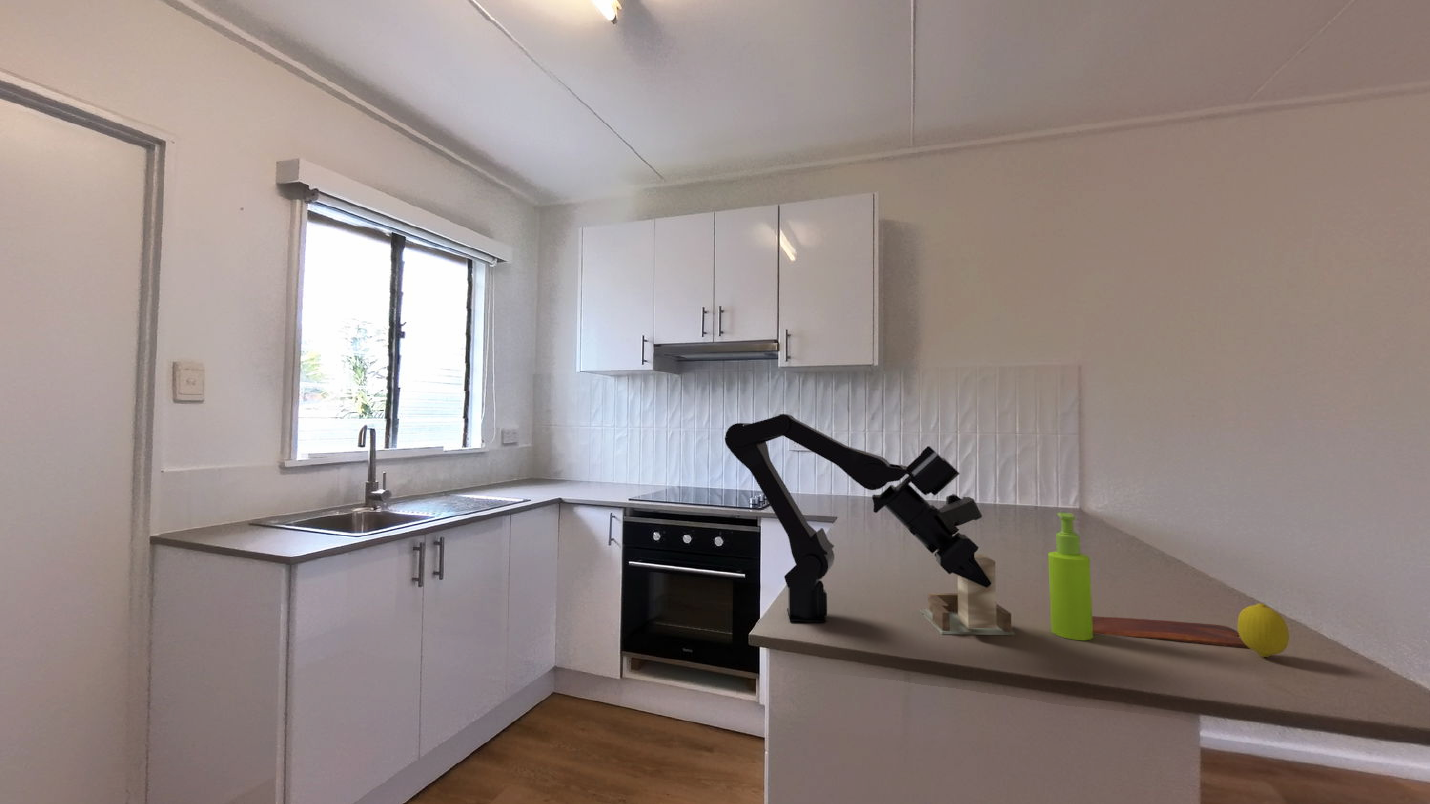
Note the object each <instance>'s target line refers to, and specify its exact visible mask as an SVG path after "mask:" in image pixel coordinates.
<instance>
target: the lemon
mask: <svg viewBox="0 0 1430 804" xmlns="http://www.w3.org/2000/svg"><path fill="white" fill-rule="evenodd" d="M1237 632H1238V633H1239V635H1240V638H1241V639H1242V641H1243V642H1244V643H1245V644H1246V645H1247V646H1248V647H1249V648H1248V649H1251V650H1252V651H1254V652H1256V653H1257V655H1259V656H1260V657H1261V656H1262V657H1261V658H1264V657H1267V658H1269V657H1270V656H1273V655H1278V654H1281V653H1282V652H1284V651H1285V650H1286V649H1287V647H1288V645H1289V641H1290V630H1289V628H1288V625H1287V622H1286V621H1285V619H1284V617H1282V615H1281V614H1279V612H1278V611H1276V610H1275V609H1273V608H1271V607H1268V606H1267V605H1266V604H1265V603H1259V602H1258V603H1257V604H1254V605H1249V606H1247V607H1245V608H1244V609H1242V610H1241V611H1240V612H1239V615H1238V619H1237Z"/></svg>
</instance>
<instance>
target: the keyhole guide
mask: <svg viewBox="0 0 1430 804" xmlns="http://www.w3.org/2000/svg"><path fill="white" fill-rule="evenodd" d="M919 612H920V613H921V614H922V613H923V614H924V615H923V614H922V615H923V616H924V617H925V618H926V619H927V620H928V622H930V623H931V625H933V627H935V628H936V630H937V631H938V632H939V633H940V634H941V635H971V636H972V635H976V636H977V635H980V636H981V635H983V636H984V635H985V636H1016V633H1015V632H1014V630H1012V613H1011V612H1010V611H1009V610H1007V609H1005V608H1004V607H1002V606H1001V605H999V604H998V603H996V624H997V629H983V628H968V627H967V626H966V625H965V624H964V623H962V622H961V621H960V620H959V619H958V592H957V593H955V592H954V593H953V592H952V593H951V592H950V593H949V592H946V593H945V592H943V593H941V592H928V593H927V608H920V609H919Z"/></svg>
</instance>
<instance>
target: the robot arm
mask: <svg viewBox="0 0 1430 804" xmlns="http://www.w3.org/2000/svg"><path fill="white" fill-rule="evenodd" d="M780 437H785V438H786V439H789V440H791V441H792V442H793V443H796V444H798V445H800V446H801V447H803V448H805V449H807V450H808V451H810V452H813V453H814V454H817V455H818V456H820V457H822V458H823V459H825V460H827V461H829V462H831V463H833V464H835V466H837V467H839V468H840V469H841V470H842V471H843V472H845V474H846V475H847V476H848V477H850V478H851V479H852V480H853V481H855V482H856V483H857V484H859V485H860V486H861V487H863V488H864V489H866V490H868V491H877V490H880V489H882V488H883V487H885V486H886V485H887V484H888V483H892V482H898V481H900V480H902V478H904V477H905V476H906V475H908V476H907V477H906V478H905V479H903V480H902V481H901V482H900V483H899V484H898V485H896V486H895V485H893V484H890V485H889V486H888V487H887V488H886V489H885V490H883V491H882V492H881V493H880V494H872V497H871V498H872V499H871V500H872V502H873V510H872V511H873V513H874V514H875V513H876V514H877V513H879V512H880V511H881V510H882V509H883V508H886V509H887V510H888V511H889V512H890V513H891V514H892V515H893V516H894V517H895V519H896V520H898V521H899V523H901V524H902V525H903V526H904V527H905V528H906V529H907V530H908V531H909V533H910V534H911V535H912V536H914V537H915V538H916V539H917V540H918V541H919V542H920V543H921V544H922V545H923V547H925V548H926V549H927V550H928V551H929V552H930V553H931V555H932V554H934V557H935V560H936V562H937V564H938V565H939V566H940V567H941V568H942V569H943V570H945V572H947V574H948V575H952V574H954V575H956V576H957V575H959V576H961V577H963V578H966V579H968V580H970V581H973V582H975V583H977V584H979V585H982V586H984V587H986V588H988V587H989V586H990V585H991V582H990V580H989V579H988V577H987V576H986V574H985V573H984V571H983V570H982V569H981V567H980V566H979V564H978V563H977V561H976V560H975V558H974V555H975V554H976V553H977V551H978V550H979V549H980V548H979V546H978V545H977V544H976V543H975V542H974V541H973V540H972V539H971V538H970V537H968V536H967V535H966V534H961V533H960V532H959V531H960V529H959V528H958V526H962V525H965V524H966V523H969V522H972V521H977V520H980V519H981V518H982V517H983V515H982V513H981V511H980V509H979V507H978V505H977V503H976V501H975V499H974V498H972V497H971V496H962V498H961V497H960V496H958V495H956V494H954V493H952V494H950V495H948V496H946V498H945V504H944V505H943V507H942V506H941V507H940V508H937V507H936V506H934V505H933V504H930V503H929V502H928V501H927V500H926V499H925V498H924V497H923V496H922V495H925V496H927V495H930V494H932V495H933V496H937V494H939V493H940V492H941V491H943V489H944V488H945V487H947V486H948V485H949V484H950V483H952V481H954V480H955V479H956V478H957V477H958V476H959V475H960V474H961V473H960V472H959V471H958V469H956V468H955V467H954V466H953V464H951V463H950V462H949V461H948V460H947V459H946V458H945V457H942V456H941V455H940V454H938V452H936V450H934V449H933V448H932V447H931V446H929V445H928V446H926V447H925V448H924V449H923V450H922V452H921V453H920V454H919V455H918V456H917V457H916V458H915V459H914V460H913V461H911V463H910V464H908V465H907V466H906V465H903V464H896V463H895V464H893V463H890V462H889V461H888V459H886V458H884V457H883V456H880V455H878V454H874V453H871V452H868V451H865V450H861V449H857V448H854V447H851V446H848V445H845V444H844V443H842V442H840V441H838V440H836V439H835V438H832V437H831V436H828V435H827V434H824V433H823V432H821V431H819V430H817V429H815V428H813V427H811V426H809V425H808V424H806V423H803V422H802V421H800V420H798V419H796V418H795V417H794V416H793V415H791V414H786V413H779V414H778V415H775V416H773V417H770V418H766V419H762V420H759V421H755V422H751V423H749V422H747V423H745V422H739V423H738V422H737V423H734V424H732V425H730V426H729V427H728V429H727V431H725V436H724V442H725V446H726V447H727V448H728V449H729V451H730V452H731V453H732V454H733V456H735V458H736V459H737V460H738V461H739V462H740V463H741V464H742V465H743V466H745V467H746V468H747V469H748V470H749V471H750V473H751V474H752V476H753V478H754V479H755V481H756V483H757V485H758V487H759V489H761V492H762V493H763V495H764V497H765V498H766V500H767V502H768V504H769V505H770V507H771V509H772V511H773V512H774V514H775V516H776V518H777V520H778V521H779V523H780V524H781V526H782V528H783V529H784V531H785V533H786V535H787V538H788V542H789V546H790V550H791V551H790V553H791V555H792V558H793V560H794V563H795V565H794V566H793V567H792V568H791V569H790V570H789V571H788V572H787V573H786V574H785V575H784V580H785V583H786V586H787V603H788V604H787V608H786V611H787V612H788V613H787V616H789V617H788V621H789V620H790V621H803V622H802V623H805V622H804V621H809V622H808V623H826V622H827V619H826V617H827V616H828V594H827V590H825V588H824V586H825V585H824V583H823V582H822V579H823V578H824V577H825V576H826V574H827V573H828V572H829V570H831V569H832V567H833V565H834V561H835V553H834V550H833V549H834V547H835V545H834V544H833V543H831V541H830V540H829V539H828V537H827V534H826V532H825V530H824V527H823V528H822V527H821V528H819V529H818V531H816V529H814V527H812V525H810V524H809V523H808V521H807V520H806V518H805V516H804V514H803V512H802V511H801V510H800V508H799V506H798V504H797V503H796V501H795V499H794V498H793V496H792V495H791V492H790V491H789V489H788V488H787V486H786V484H785V483H784V480H782V477H781V476H780V474H779V473H778V470H777V469H776V467H775V465H774V464H773V462H772V461H771V458H770V457H771V456H770V453H769V452H770V451H769V448H768V444H767V442H770V441H772V440H775V439H778V438H780ZM910 483H911V484H913V486H915V488H917V490H918V491H920V493H922V495H921V494H919V492H918V491H917V490H915V489H914V488H913V487H912V486H911V485H910ZM790 621H789V622H790ZM810 621H811V622H810ZM816 621H817V622H816ZM825 621H826V622H825Z"/></svg>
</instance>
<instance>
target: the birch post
mask: <svg viewBox="0 0 1430 804" xmlns="http://www.w3.org/2000/svg"><path fill="white" fill-rule="evenodd" d="M974 558H975V560H976V561H977V563H978V564H979V566H980V567H981V569H982V570H983V571H984V573H985V574H986V576H987V577H988V579H989V580H990V582H991V585H990V586H989V587H988V588H986V587H984V586H982V585H979V584H977V583H975V582H973V581H970V580H968V579H966V578H963V577H961V576H959V575H956V576H957V593H958V619H959V620H960V621H961V622H962V623H964V624H965V625H966V626H967V627H968V628H983V629H997V624H996V604H997V588H996V587H997V583H996V581H997V577H996V576H997V575H996V573H997V572H996V561H995V560H994V559H992V558H990V557H989V556H987V555H985V554H974Z"/></svg>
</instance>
